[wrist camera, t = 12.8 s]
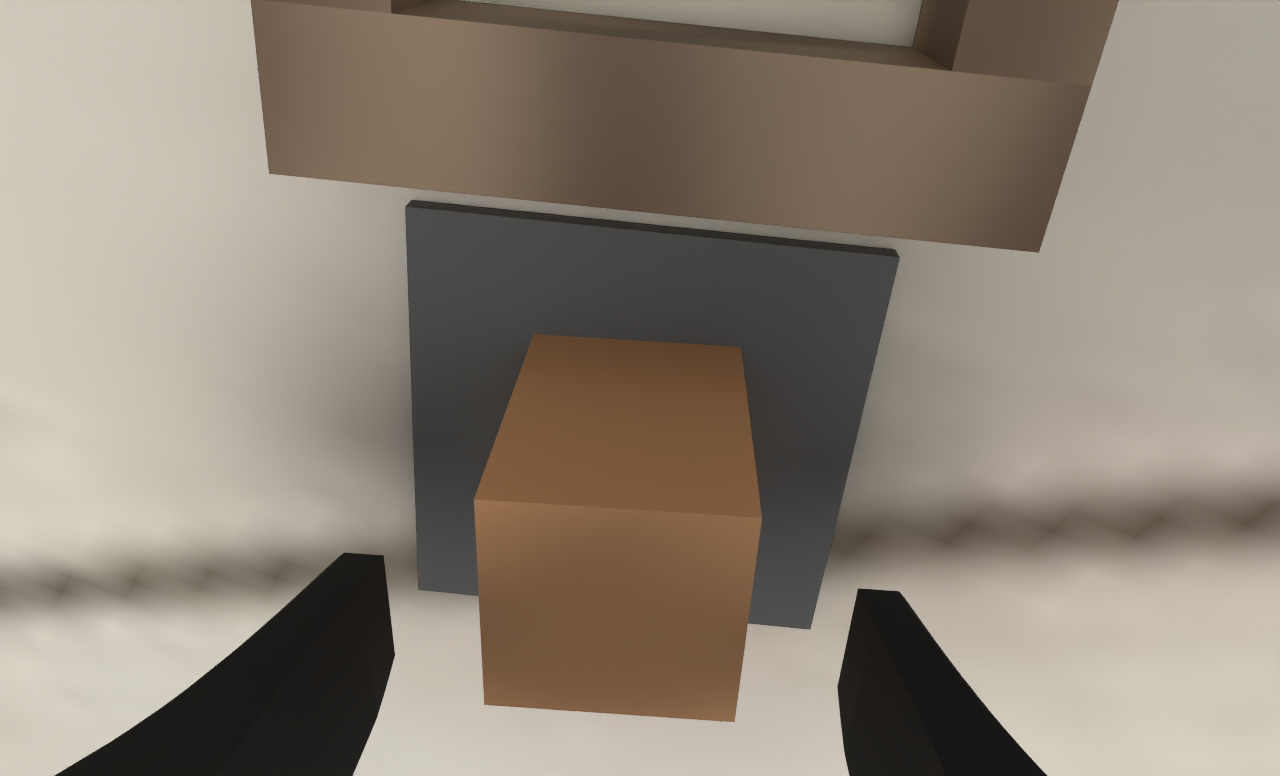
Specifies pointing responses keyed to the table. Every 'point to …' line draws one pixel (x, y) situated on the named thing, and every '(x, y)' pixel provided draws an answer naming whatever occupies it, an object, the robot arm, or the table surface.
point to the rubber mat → (645, 311)
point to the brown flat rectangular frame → (691, 112)
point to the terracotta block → (619, 531)
